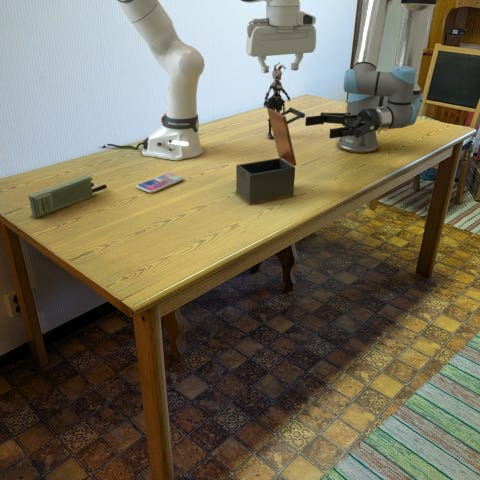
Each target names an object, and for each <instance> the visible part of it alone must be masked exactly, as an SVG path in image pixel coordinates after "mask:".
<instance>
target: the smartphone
mask: <svg viewBox="0 0 480 480" xmlns="http://www.w3.org/2000/svg"><path fill="white" fill-rule="evenodd" d="M182 181H184V177H183V176H180V175H179V174H174V173H172V172H166V173H163V174H161V175H159V176H156V177H154V178H151V179H149V180H146V181H143V182H141V183H138V184H137V185H136V188H137V189H139V190H141V191H143V192H145V193H148V194H154V193H156V192H158V191H160V190H161V191H162V190H164V189H166V188H168V187H170V186H172V185H175V184H177V183H180V182H182Z"/></svg>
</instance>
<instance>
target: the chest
mask: <svg viewBox="0 0 480 480" xmlns="http://www.w3.org/2000/svg"><path fill="white" fill-rule="evenodd" d="M235 167H236V169H235V171H236V173H235V175H236V180H235V182H236V183H235V194H236V195H238V197H239V198H241V199H242V200H243V201H244V202H245V203H246V204H248V205H249V206H251V205H256V204H261V203H265V202H271V201H276V200H281V199H285V198H291V197H294V191H295V177H296V166H293V165H291V164H290V163H288V162H286V161H285V160H283V159H282V158H280V157H277V158H269V159H265V160H257V161H252V162H245V163H241V164H240V163H239V164H236V166H235Z"/></svg>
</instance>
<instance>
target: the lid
mask: <svg viewBox="0 0 480 480" xmlns="http://www.w3.org/2000/svg"><path fill="white" fill-rule="evenodd" d="M290 113H291V114H292V115H295V116H294V117H292V118H290V119H288V120H287V117H286V115H288V114H290ZM267 115H268V118H269V119H270V123H271V132H272V135H273V137H274V139H273V140H274V142H275V146H276V151H277V155H278V158H281V159H283V160H284V161H286V162H287V163H289V164H290V165H292V166H294V167H296V166H297V161H296V156H295V152H294V151H295V150H294V148H293V142H292V139H291V138H292V137H291V134H290V130H289V124H291V123H293V122H295V121H297V120H300V119H304V118H306V114H305V113H304V112H302V111H300V110H297V109H295V108H294V107H288V109H286V111H285V112H283V111H282V112H280V113H278V112H276V110H275V111H274V110H272V109H268V108H267Z"/></svg>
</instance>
